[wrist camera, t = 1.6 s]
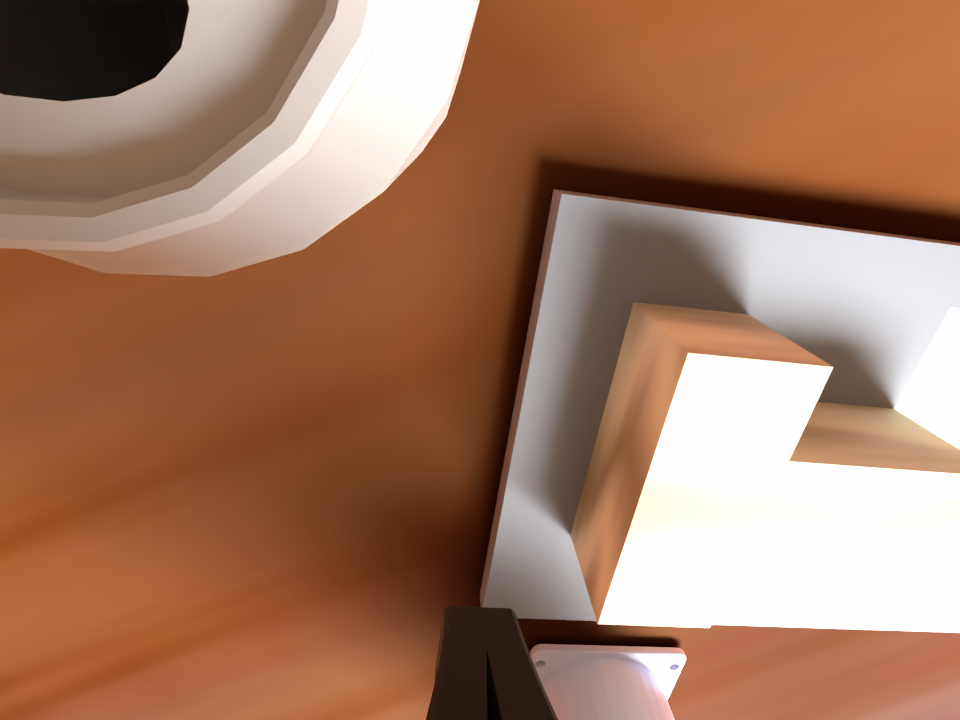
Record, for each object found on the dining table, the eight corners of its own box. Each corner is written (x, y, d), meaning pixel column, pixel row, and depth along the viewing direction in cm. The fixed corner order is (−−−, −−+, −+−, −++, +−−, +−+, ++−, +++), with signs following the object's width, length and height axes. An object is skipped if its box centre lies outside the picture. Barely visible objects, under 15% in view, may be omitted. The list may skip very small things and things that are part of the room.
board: (1005, 614, 26) (1030, 635, 25) (479, 594, 23) (481, 617, 22) (1277, 284, 19) (1328, 294, 18) (553, 189, 16) (561, 193, 14)
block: (817, 548, 21) (893, 634, 18) (570, 535, 20) (597, 624, 17) (935, 334, 17) (1064, 389, 14) (633, 302, 16) (688, 352, 12)
